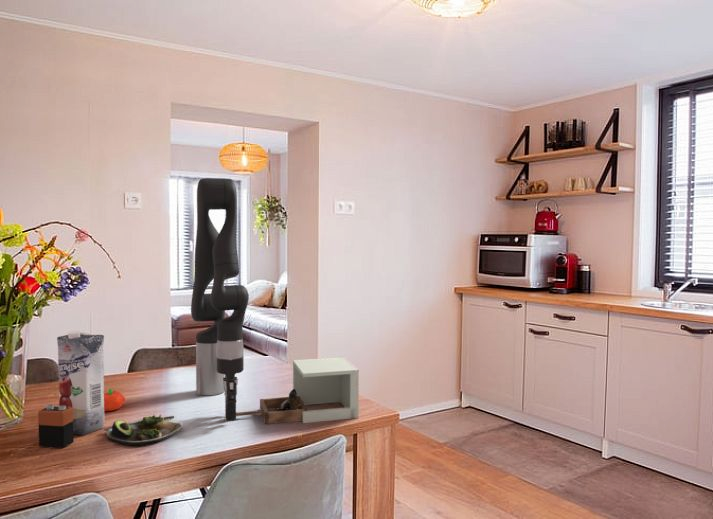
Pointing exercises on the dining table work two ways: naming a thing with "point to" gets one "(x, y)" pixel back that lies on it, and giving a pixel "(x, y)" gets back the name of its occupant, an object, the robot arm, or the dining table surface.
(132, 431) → the salad plate
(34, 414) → the dining table surface
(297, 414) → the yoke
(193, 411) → the dining table surface
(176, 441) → the dining table surface
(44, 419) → the battery
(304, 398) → the cubby
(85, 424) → the juice carton
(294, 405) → the eagle figurine
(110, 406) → the tomato
